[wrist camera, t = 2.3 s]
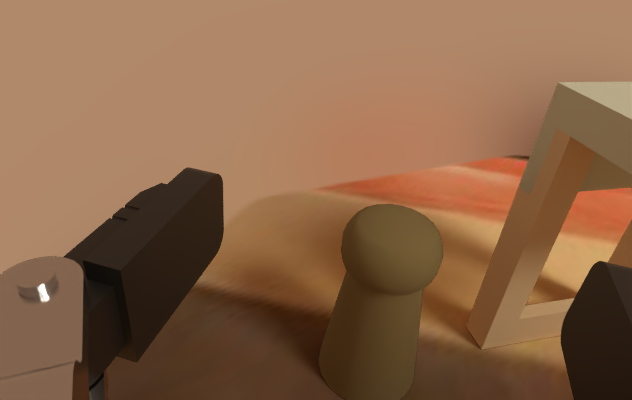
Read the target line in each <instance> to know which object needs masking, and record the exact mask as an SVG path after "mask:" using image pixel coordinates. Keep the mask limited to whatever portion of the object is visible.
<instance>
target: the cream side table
mask: <svg viewBox="0 0 632 400" xmlns="http://www.w3.org/2000/svg"><path fill="white" fill-rule="evenodd" d="M630 187H632V82H558V83H557V86H556V89H555V92H554V94H553V97H552V99H551V102H550V105H549V107H548V110H547V113H546V115H545V118H544V121H543V123H542V126H541V129H540V131H539V134H538V137H537V139H536V142H535V144H534V147H533V150H532V153H531V155H530V158H529V160H528V163H527V166H526V168H525V171H524V174H523V176H522V179H521V182H520V184H519V187H518V190H517V192H516V195H515V198H514V200H513V203H512V206H511V208H510V211H509V214H508V216H507V219H506V222H505V224H504V227H503V229H502V232H501V235H500V237H499V240H498V243H497V245H496V248H495V251H494V253H493V256H492V259H491V261H490V264H489V267H488V269H487V272H486V275H485V277H484V280H483V283H482V285H481V288H480V291H479V293H478V296H477V299H476V301H475V304H474V307H473V309H472V312H471V314H470V317H469V320H468V322H467V325H466V327H467V329H468V330H469V332H470V333H471V335H472V336H473V338H474V339H475V341H476V342H477V344H478V345H479V347H480V348H481V349H487V348H492V347H498V346H504V345H510V344H515V343H521V342H527V341H532V340H538V339H544V338H549V337H555V336H561V329H562V324H563V320H564V318H565V315H566V313H567V311H568V310H569V308H570V306H571V304H572V302H573V300H574V299H575V298H571V299H564V300H558V301H551V302H545V303H538V304H532V305H526V303H527V301H528V299H529V297H530V295H531V292H532V290H533V288H534V286H535V284H536V282H537V279H538V277H539V275H540V273H541V271H542V269H543V266H544V264H545V262H546V260H547V258H548V256H549V253H550V251H551V249H552V247H553V245H554V243H555V240H556V238H557V236H558V234H559V232H560V230H561V227H562V225H563V223H564V221H565V219H566V217H567V214H568V212H569V210H570V208H571V206H572V204H573V201H574V199H575V197H576V195H577V193H578V192H580V191H593V190H605V189H618V188H630ZM608 263H612V264H616V265H620V266H625V267H629V268H632V220H631V222H630V224H629V225H628V227H627V229H626V231H625V233H624V234H623V236H622V238H621V240H620V242H619V243H618V245H617V247H616V249H615V251H614V252H613V254H612V256H611V258H610V260H609V261H608Z"/></svg>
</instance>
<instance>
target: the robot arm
mask: <svg viewBox="0 0 632 400" xmlns="http://www.w3.org/2000/svg"><path fill="white" fill-rule="evenodd" d="M223 231H224V221H223V181H222V177H221V176H220V175H219V174H215V173H211V172H207V171H202V170H198V169H193V168H185V169H184V170H183V171H182V172H181V173H179V174H178V175H177V176H176V177H175V178H174V179H173V180H172V181H170V182H169V183H168V184H163V183H161V184H158V185H156V186H154V187H151V188H149V189H147V190H144V191H142V192H140V193H139V194H138V195H136V196H135V197H134V198H133V199H132V200H130V201H129V202H128V203H127V204H126V205H125V208H121V209H120V210H119V211H118V212H116V213H115V214H114V215H113V217H112V219H110V218H109V219H108V220H107V221H105V223H103V224H102V225H101V226H100V227H98V228H97V229H96V230H95V231H94V232H93V233H91V234H90V235H89V236H88V237H86V238H85V239H84V240H83V241H82V242H81V243H79V244H78V245H77V246H76V247H75V248H73V249H72V250H71V251H70V252H69V253H67V254H66V255H65V256H64V257H56V256H54V257H53V256H48V257H40V258H35V259H31V260H27V261H24V262H22V263H19V264H17V265H15V266H13V267H11V268H9V269H8V270H6V271H4V272H3V273H2V274H1V275H0V400H108V379H107V372H106V368H107V367H108V366H109V365H110V363H111V362H112V361H113V360H114V358H115V357H116V356H117V357H121V358H124V359H127V360H130V361H134V362H138V360H139V359H140V357H141V356H142V355H143V353H144V352H145V351H146V349H147V348H148V347H149V345H150V344H151V343H152V341H153V340H154V338H155V337H156V336H157V334H158V333H159V332H160V330H161V329H162V328H163V326H164V325H165V324H166V322H167V321H168V319H169V318H170V317H171V315H172V314H173V313H174V311H175V310H176V309H177V307H178V306H179V305H180V303H181V302H182V300H183V299H184V298H185V296H186V295H187V294H188V292H189V291H190V290H191V288H192V287H193V286H194V284H195V283H196V281H197V280H198V279H199V277H200V276H201V275H202V273H203V272H204V271H205V269H206V268H207V267H208V265H209V264H210V262H211V261H212V260H213V258H214V257H215V256H216V254H217V252H218V250H219V248H220V245H221V242H222V238H223ZM561 346H562V351H563V355H564V359H565V363H566V368H567V372H568V376H569V380H570V385H571V389H572V393H573V397H574V400H632V268H629V267H625V266H620V265H616V264H612V263H607V262H603V261H599V262H597V263H595V264H594V265H593V266H592V268H591V269H590V271H589V273H588V275H587V277H586V278H585V280H584V282H583V284H582V286H581V288H580V289H579V291H578V293H577V295H576V297H575V299H574V300H573V302H572V304H571V306H570V308H569V310H568V311H567V313H566V315H565V318H564V320H563V324H562V329H561Z"/></svg>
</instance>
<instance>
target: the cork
mask: <svg viewBox="0 0 632 400" xmlns="http://www.w3.org/2000/svg"><path fill="white" fill-rule="evenodd" d="M341 253H342V259H343V262H344V265H345V268H346V270H347V271H346V274H345V277H344V280H343V283H342V286H341V289H340V292H339V295H338V298H337V301H336V304H335V307H334V309H333V312H332V315H331V318H330V321H329V324H328V327H327V330H326V333H325V336H324V339H323V342H322V345H321V348H320V353H319V360H318V363H319V367H320V371H321V375H322V377H323V378H324V380H325V381H326V383H327V385H328V386H329V387H330V388H331V389H332V390H333V391H334V392H335V393H337V394H338V395H339V396H340V397H341V398H343V399H346V400H400V399H401V398H402V397H403V396H404V395H405V394H406V393H407V392H408V391H409V389H410V387H411V385H412V382H413V379H414V373H415V363H416V354H417V344H418V335H419V325H420V315H421V306H422V296H423V289H424V288H425V287H426V286H427V285H428V284H429V283H431V282H432V280H433V279H434V277H435V276H436V275H437V272H438V269H439V267H440V264H441V261H442V258H443V245H442V239H441V236H440V234H439V231H438V229H437V228H436V226H435V225H434V223H433V222H432V221H430V220H429V219H428V218H427V217H426V216H424V215H423V214H421V213H419V212H417V211H415V210H413V209H410V208H407V207H404V206H399V205H392V204H381V205H373V206H369V207H366V208H364V209H362V210H361V211H359V212H358V213H357V214H355V215H354V216H353V217H352V219H351V220H350V221H349V223H348V224H347V226H346V228H345V230H344V232H343V239H342V247H341Z"/></svg>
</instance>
